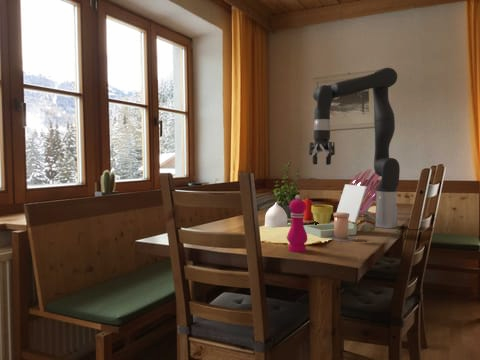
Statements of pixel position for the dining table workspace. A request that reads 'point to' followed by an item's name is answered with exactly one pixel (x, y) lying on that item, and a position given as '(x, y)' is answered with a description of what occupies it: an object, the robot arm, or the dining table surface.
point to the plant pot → (322, 213)
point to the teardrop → (276, 217)
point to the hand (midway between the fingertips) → (321, 164)
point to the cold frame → (347, 204)
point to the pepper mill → (297, 226)
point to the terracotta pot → (341, 225)
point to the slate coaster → (342, 239)
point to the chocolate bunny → (368, 222)
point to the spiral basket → (367, 189)
